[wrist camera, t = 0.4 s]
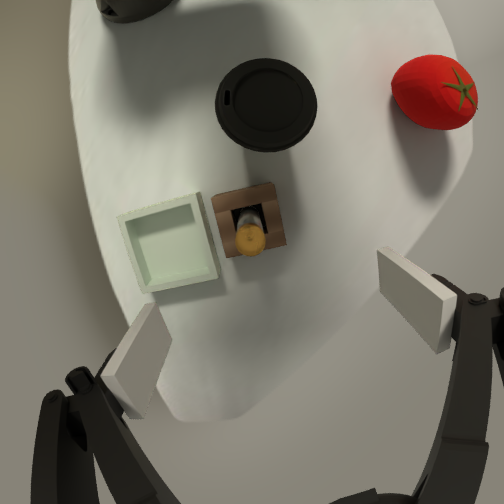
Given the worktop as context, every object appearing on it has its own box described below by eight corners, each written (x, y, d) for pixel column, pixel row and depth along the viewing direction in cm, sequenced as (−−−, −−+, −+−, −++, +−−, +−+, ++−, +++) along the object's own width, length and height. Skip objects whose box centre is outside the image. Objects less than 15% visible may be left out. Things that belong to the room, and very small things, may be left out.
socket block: (215, 194, 40) (210, 198, 35) (270, 182, 39) (273, 183, 35) (228, 247, 42) (226, 258, 37) (282, 236, 42) (286, 244, 37)
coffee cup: (293, 159, 38) (320, 155, 24) (223, 157, 38) (210, 149, 24) (295, 94, 36) (321, 57, 21) (226, 91, 35) (215, 51, 21)
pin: (237, 208, 40) (231, 230, 26) (256, 203, 40) (262, 223, 26) (241, 226, 41) (239, 259, 27) (260, 222, 41) (268, 252, 27)
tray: (126, 212, 40) (116, 216, 37) (200, 191, 40) (195, 193, 36) (149, 284, 43) (142, 294, 40) (220, 269, 43) (218, 278, 39)
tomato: (374, 113, 36) (425, 96, 23) (386, 56, 33) (432, 25, 20) (435, 146, 38) (492, 145, 24) (444, 91, 34) (497, 77, 21)
